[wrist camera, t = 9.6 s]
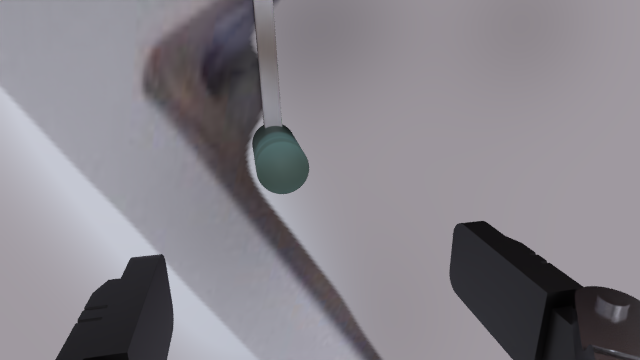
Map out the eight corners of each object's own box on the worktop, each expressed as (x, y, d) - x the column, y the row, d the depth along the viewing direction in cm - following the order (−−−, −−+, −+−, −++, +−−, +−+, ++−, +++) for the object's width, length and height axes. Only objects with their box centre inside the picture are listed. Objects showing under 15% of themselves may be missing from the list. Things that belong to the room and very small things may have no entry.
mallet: (194, -189, 20) (179, -270, 15) (298, -184, 20) (318, -259, 15) (234, 167, 25) (234, 199, 20) (314, 159, 26) (333, 188, 21)
